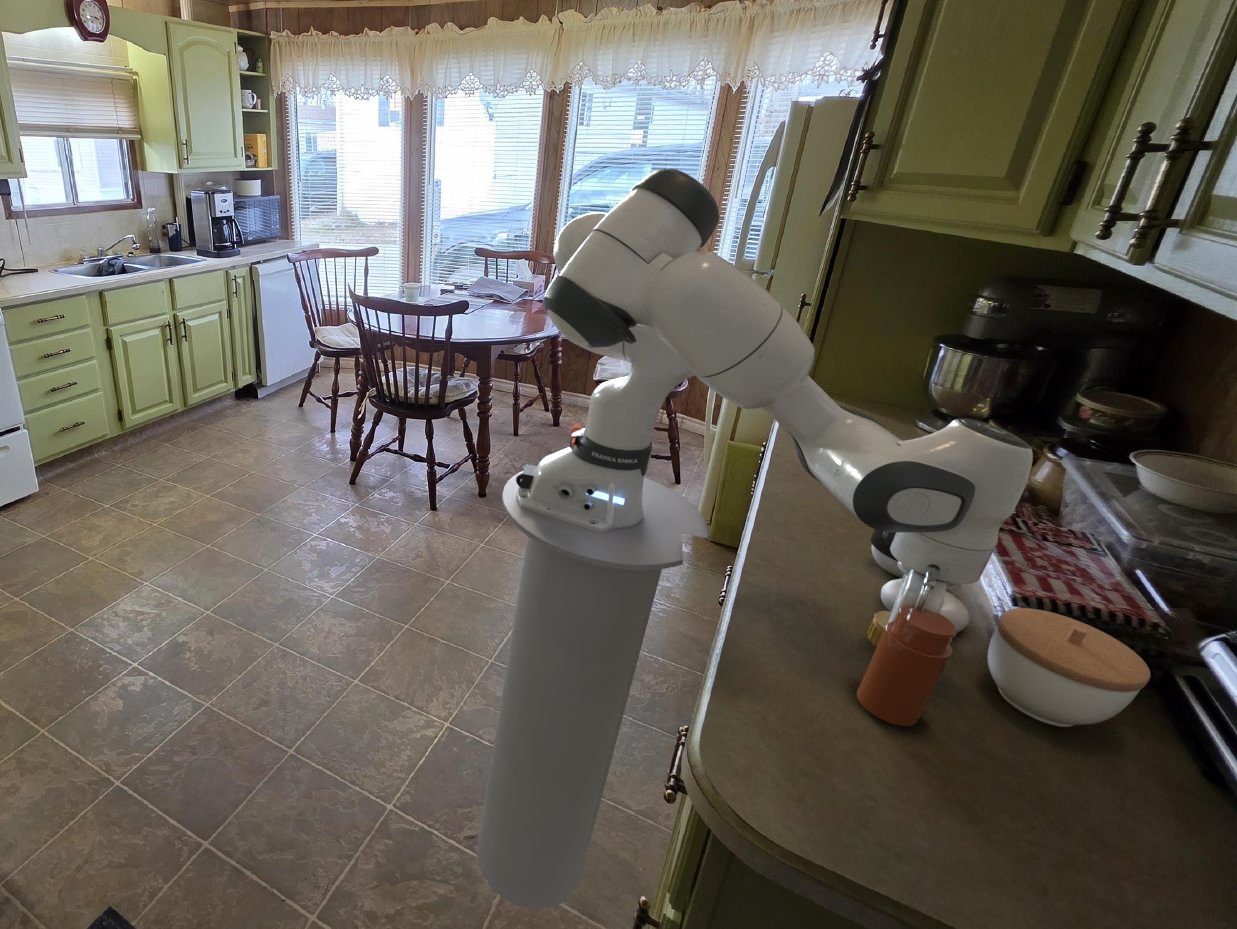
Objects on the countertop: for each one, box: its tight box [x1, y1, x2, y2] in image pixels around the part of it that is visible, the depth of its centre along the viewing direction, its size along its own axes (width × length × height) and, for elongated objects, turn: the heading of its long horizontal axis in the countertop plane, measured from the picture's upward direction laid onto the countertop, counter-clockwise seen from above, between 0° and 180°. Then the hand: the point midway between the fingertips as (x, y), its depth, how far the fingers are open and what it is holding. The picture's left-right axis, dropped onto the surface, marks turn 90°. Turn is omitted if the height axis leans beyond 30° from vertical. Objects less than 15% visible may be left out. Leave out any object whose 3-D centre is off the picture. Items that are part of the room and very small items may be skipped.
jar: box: [856, 605, 958, 727], centre depth 76 cm, size 6×6×13 cm
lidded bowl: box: [986, 607, 1151, 728], centre depth 78 cm, size 13×13×11 cm
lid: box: [866, 610, 892, 648], centre depth 86 cm, size 6×6×3 cm
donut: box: [880, 578, 970, 633], centre depth 94 cm, size 10×3×10 cm
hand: (896, 641), depth 86 cm, fingers closed on lid, 6 cm apart
